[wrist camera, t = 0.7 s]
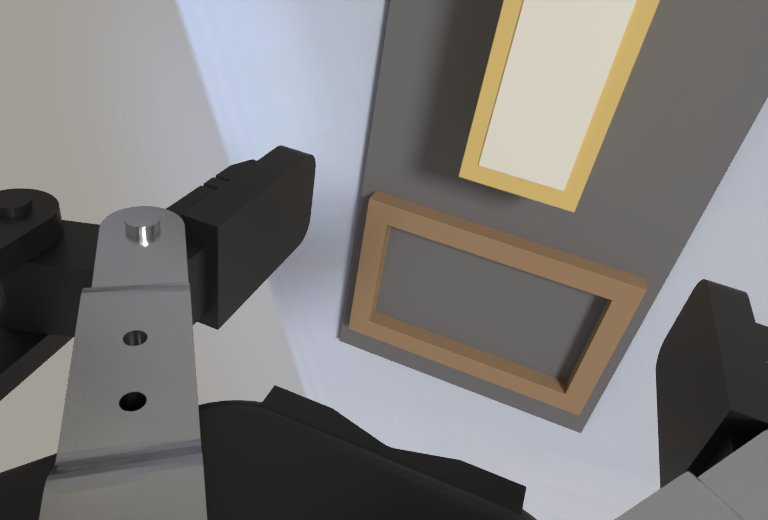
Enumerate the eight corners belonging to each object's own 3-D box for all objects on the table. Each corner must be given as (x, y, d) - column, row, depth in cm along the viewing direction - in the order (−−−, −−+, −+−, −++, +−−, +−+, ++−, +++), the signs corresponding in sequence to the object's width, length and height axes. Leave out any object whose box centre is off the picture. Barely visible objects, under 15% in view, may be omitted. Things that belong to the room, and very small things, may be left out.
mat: (422, -186, 23) (409, -188, 22) (872, -101, 20) (887, -100, 19) (342, 335, 40) (333, 350, 38) (581, 426, 36) (579, 445, 35)
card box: (543, -96, 23) (526, -90, 20) (678, -68, 22) (683, -57, 19) (479, 142, 29) (458, 177, 25) (582, 173, 28) (574, 213, 24)
